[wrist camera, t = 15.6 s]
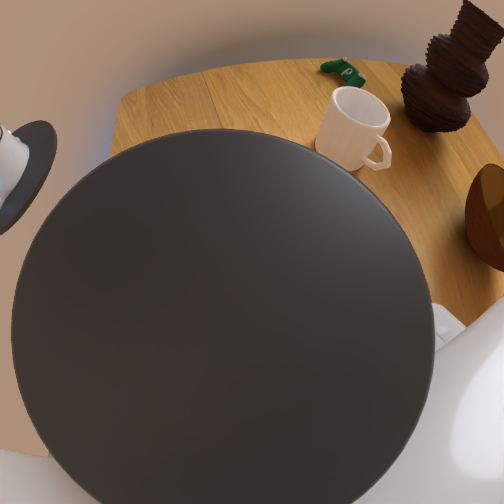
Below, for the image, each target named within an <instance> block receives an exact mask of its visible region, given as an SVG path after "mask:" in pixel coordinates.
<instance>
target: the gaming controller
mask: <svg viewBox="0 0 504 504" xmlns="http://www.w3.org/2000/svg"><path fill="white" fill-rule="evenodd" d="M320 69H321V70H322V71H323V72H336V73H337V74H338V75H339V76H340V77H341V78H342V79H343V80H344V81H345V84H344V85H343V86H342V87H346V86H351V87H357V88H361V87H362V86H363V85H364V84H365V82H366V78H365V76H364V75H363V74H362V73H361V72H359V71H358V70H357V69H356V68H355V67H354V66H353V65H351V64H350V62H349V60H348V59H347V58H346V57H344V58H343V59H340V60H336V61H329V62H325V63H323V64H322V65H321V66H320Z"/></svg>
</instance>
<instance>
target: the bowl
mask: <svg viewBox="0 0 504 504" xmlns="http://www.w3.org/2000/svg"><path fill="white" fill-rule="evenodd" d="M465 222H466V234H467V238H468V241H469V243H470V245H471V247H472V248H473V250H474V251H475V252H477V254H478V255H479V256H480V258H481V259H482V260H483V261H484V262H485V263H487V264H488V265H490V266H492V267H493V268H495V269H497V270H499V271H502V272H504V169H503V168H501V167H499V166H498V165H495V164H486V165H485V166H484V167H483V168H482V169H481V170H480V171H479V172H478V174H477V175H476V177H475V178H474V180H473V182H472V184H471V187H470V189H469V193H468V196H467V199H466V206H465Z"/></svg>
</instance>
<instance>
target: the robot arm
mask: <svg viewBox="0 0 504 504" xmlns="http://www.w3.org/2000/svg"><path fill="white" fill-rule="evenodd" d="M28 159H29V148H28V146H27V145H25V144H24V143H22V142H21V141H20V139H19V138H18V137H14V136H13V135H12V134H11V132H10V131H8V130H6V129H5V128H4V127H3V126H2V125H1V124H0V209H1V207H2V205H3V203H4V201H5V199H6V198H7V196H8V195H9V194H10V193H11V191H12V190H13V189H14V187H15V186H16V185H17V183H18V181H19V180H20V178H21V176H22V174H23V172H24V170H25V168H26V165H27V162H28ZM432 307H433V312H434V323H435V341H436V344H435V358H434V369H433V375H432V380H431V384H430V389H429V393H428V397H427V400H426V403H425V406H424V409H423V411H422V414H421V416H420V419H419V421H418V424H417V426H416V428H415V430H414V432H413V434H412V436H411V437H410V439H409V441H408V443H407V444H406V446H405V448H404V450H403V451H402V453H401V454H400V455H399V457H398V458H397V459H396V461H395V462H394V463H393V465H392V466H391V467H390V468H389V470H388V471H387V472H386V473H385V475H384V476H383V477H382V478H381V479H380V480H379V481H378V482H377V483H376V484H375V485H374V486H373V487H372V488H371V489H370V490H368V491H367V492H366V493H365V494H364V495H363V496H362V497H360V498H359V499H358V500H356V501H355V502H354V503H352V504H504V294H503V295H502V296H501V297H500V298H499V299H498V300H497V301H496V302H495V303H494V304H493V305H492V306H491V307H490V308H489V309H488V310H486V311H485V312H484V313H483V314H482V315H481V316H480V317H479V318H477V319H476V320H475V321H474V322H473V323H472V324H470V325H469V326H468V327H466V326H465V325H464V324H463V323H461V322H460V321H459V320H458V319H457V318H456V317H455V316H454V315H452V314H451V313H450V312H449V311H448V310H447V309H446V308H444V307H443V306H442V305H440V304H436V303H432ZM0 504H101V503H100V502H98V501H97V500H95V499H94V498H93V497H92V496H90V495H89V494H88V493H87V492H86V491H85V490H83V489H82V488H81V487H80V486H79V485H78V484H77V483H76V482H75V481H73V480H72V478H71V477H70V476H69V475H68V474H67V473H66V472H65V471H64V470H63V468H62V467H61V466H60V465H59V464H58V463H57V461H56V460H55V459H54V458H53V456H52V455H51V453H50V452H49V456H48V457H42V456H35V455H28V454H23V453H18V452H13V451H8V450H4V449H0Z"/></svg>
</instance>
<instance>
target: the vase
mask: <svg viewBox="0 0 504 504" xmlns="http://www.w3.org/2000/svg"><path fill="white" fill-rule="evenodd" d="M463 5H464V6H463ZM463 5H462V7H461V10H460V11H459V15H458V20H456V21H455V24H454V25H453V28H454V29H451V34H450V35H447V34H446V35H442V34H439V36H438V37H436V36H433V37H434V38H433V39H430V41H431V44H429V43H428V46H429V48H427V51H428V53H425V55H426V57H427V59H426V62H427V65H426V66H423V65H420V64H416V65H415V66H410V68H406V69H405V70H406V73H404V74H403V75H404V77H401V81H402V84H401V86H402V88H401V92H402V93H403V99H404V104H405V114H406V115H407V116H408V118H409V119H410V120H411V121H412V123H413V124H414V125H416V126H417V127H419V128H420V129H422V130H423V131H424V132H429V133H433V134H434V133H435V132H444V133H445V132H452V131H457V130H459V129H460V128H462V127H464V126H465V125H466V124H465V123H467V122H468V120H469V118H470V116H471V115H470V113H471V111H470V107H469V104H468V102H467V99H466V98H467V97H468V98H469V97H471V96H474V95H476V94H478V93H480V92H481V90H482V89H484V88H485V87H486V84H487V81H488V79H489V78H488V77H489V75H488V72H487V69H486V66H485V63H484V62H485V61H486V59H487V58H489V57H490V55H491V53H492V51H493V50H494V48H495V47H496V46H497V45H498V43H499V44H500V43H501V39H502V37H504V29H503V28H502V27H501V26H500V25H499V24H498V22H495V21H494V20H493V19H492V18H490V17H489V16H488V15H487V14H485V13H484V11H482V10H481V9H479V8H478V7H476V6H475V5H473V4H472V3H471V2H469V1H468V0H463ZM409 107H410V108H409ZM412 110H413V111H412ZM420 112H421V113H420Z"/></svg>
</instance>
